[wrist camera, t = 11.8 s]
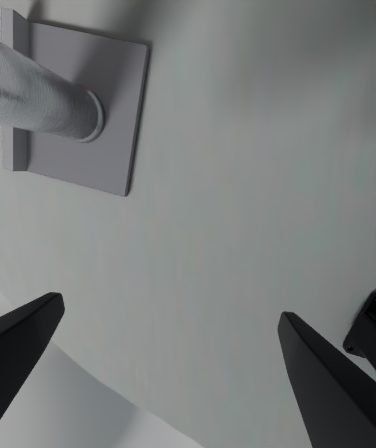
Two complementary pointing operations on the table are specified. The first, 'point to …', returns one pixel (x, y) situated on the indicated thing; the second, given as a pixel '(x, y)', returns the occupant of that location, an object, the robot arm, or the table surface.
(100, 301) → the table surface
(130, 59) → the bracket
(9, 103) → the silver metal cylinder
